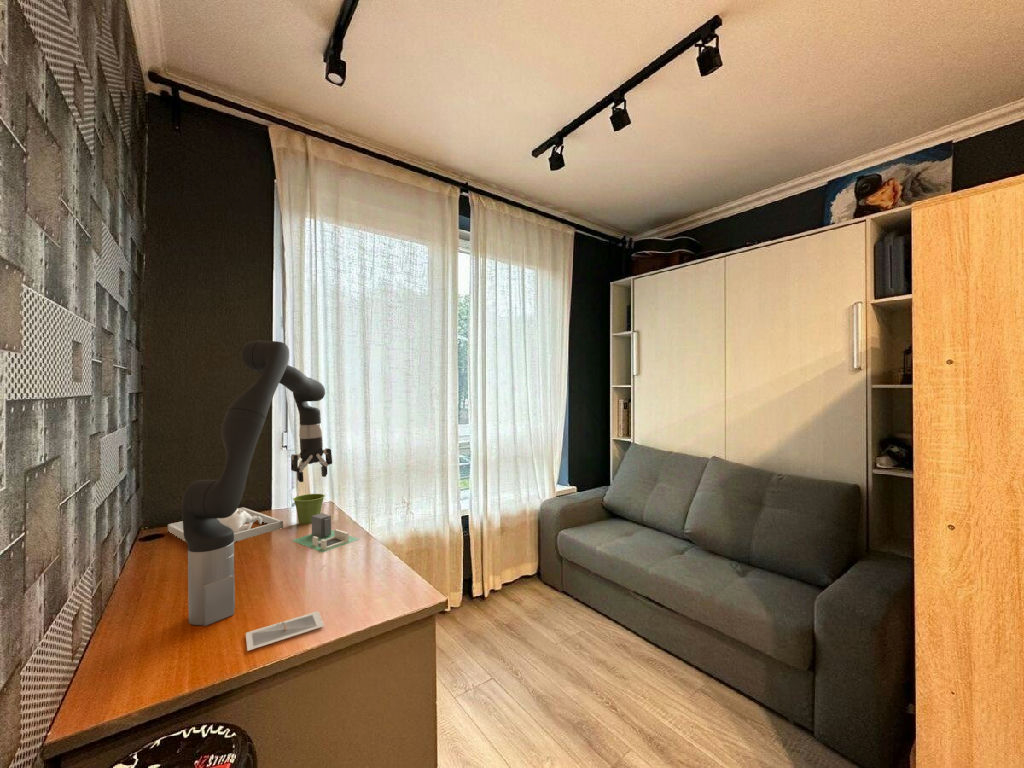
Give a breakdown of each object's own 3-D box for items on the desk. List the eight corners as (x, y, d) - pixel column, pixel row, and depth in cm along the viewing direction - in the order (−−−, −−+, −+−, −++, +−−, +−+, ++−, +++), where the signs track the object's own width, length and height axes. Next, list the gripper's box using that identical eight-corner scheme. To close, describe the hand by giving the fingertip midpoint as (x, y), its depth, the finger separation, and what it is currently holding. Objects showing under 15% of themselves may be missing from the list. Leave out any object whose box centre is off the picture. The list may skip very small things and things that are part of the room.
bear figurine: (262, 532, 171) (213, 520, 169) (270, 503, 170) (220, 490, 167) (239, 554, 154) (183, 541, 152) (247, 521, 153) (192, 508, 151)
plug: (322, 531, 155) (321, 513, 155) (332, 535, 151) (332, 516, 151) (311, 534, 152) (311, 515, 152) (322, 538, 148) (322, 519, 148)
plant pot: (327, 525, 167) (327, 497, 167) (295, 531, 160) (294, 502, 160) (322, 517, 177) (322, 491, 177) (291, 523, 170) (291, 496, 170)
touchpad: (324, 630, 95) (324, 621, 95) (247, 656, 86) (247, 645, 86) (318, 615, 101) (318, 606, 101) (245, 637, 92) (245, 628, 92)
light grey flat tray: (283, 528, 164) (283, 520, 164) (202, 551, 142) (202, 542, 142) (243, 514, 184) (243, 507, 184) (167, 532, 162) (167, 524, 162)
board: (359, 543, 147) (359, 530, 147) (322, 557, 135) (322, 543, 135) (328, 532, 158) (327, 521, 158) (291, 544, 147) (291, 531, 147)
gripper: (296, 440, 144) (298, 485, 145) (334, 434, 155) (336, 476, 156) (286, 438, 149) (288, 482, 150) (324, 432, 160) (326, 473, 161)
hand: (312, 479), depth 153 cm, fingers open, 8 cm apart
